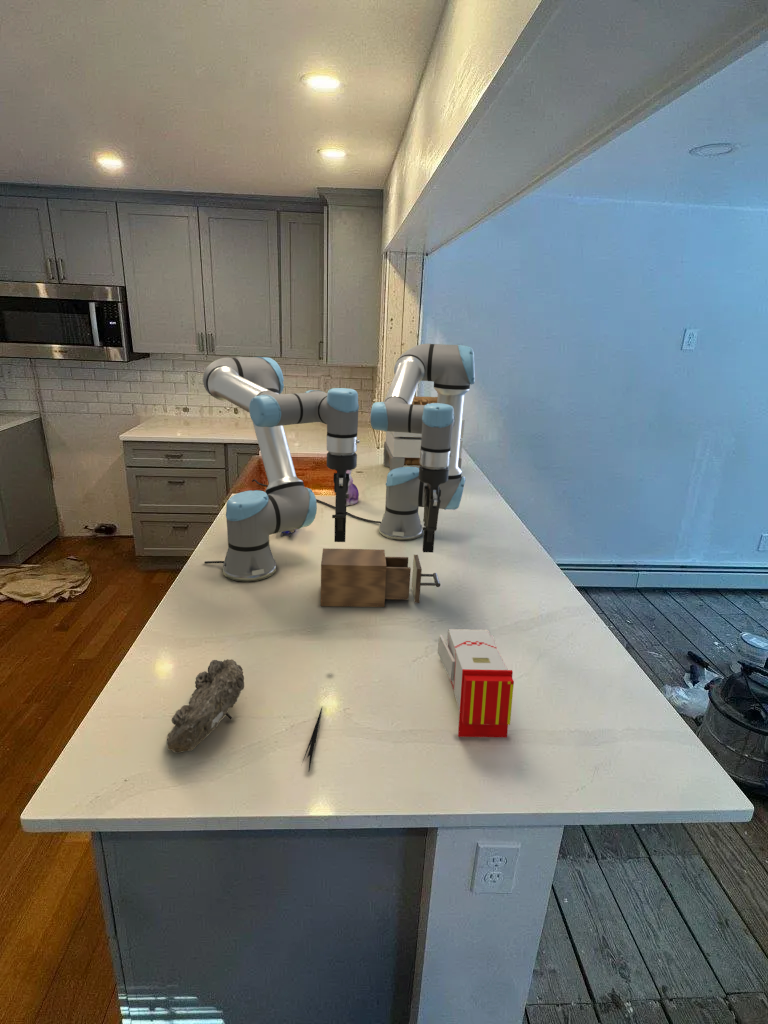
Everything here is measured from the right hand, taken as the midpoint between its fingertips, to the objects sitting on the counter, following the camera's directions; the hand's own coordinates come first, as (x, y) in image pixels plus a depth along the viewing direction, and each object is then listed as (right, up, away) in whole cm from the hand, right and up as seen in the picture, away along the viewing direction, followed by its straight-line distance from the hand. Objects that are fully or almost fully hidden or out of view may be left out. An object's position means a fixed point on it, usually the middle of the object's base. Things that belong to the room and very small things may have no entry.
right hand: (427, 551), depth 151 cm
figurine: (-26, +14, +78) cm, 83 cm away
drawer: (-7, -12, +4) cm, 15 cm away
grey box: (+6, +29, +124) cm, 127 cm away
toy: (+6, -27, -33) cm, 43 cm away
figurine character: (-45, +4, +46) cm, 65 cm away
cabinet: (-20, -13, +4) cm, 24 cm away
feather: (-24, -29, -43) cm, 57 cm away
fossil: (-44, -29, -43) cm, 68 cm away
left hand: (-23, +5, -3) cm, 24 cm away
